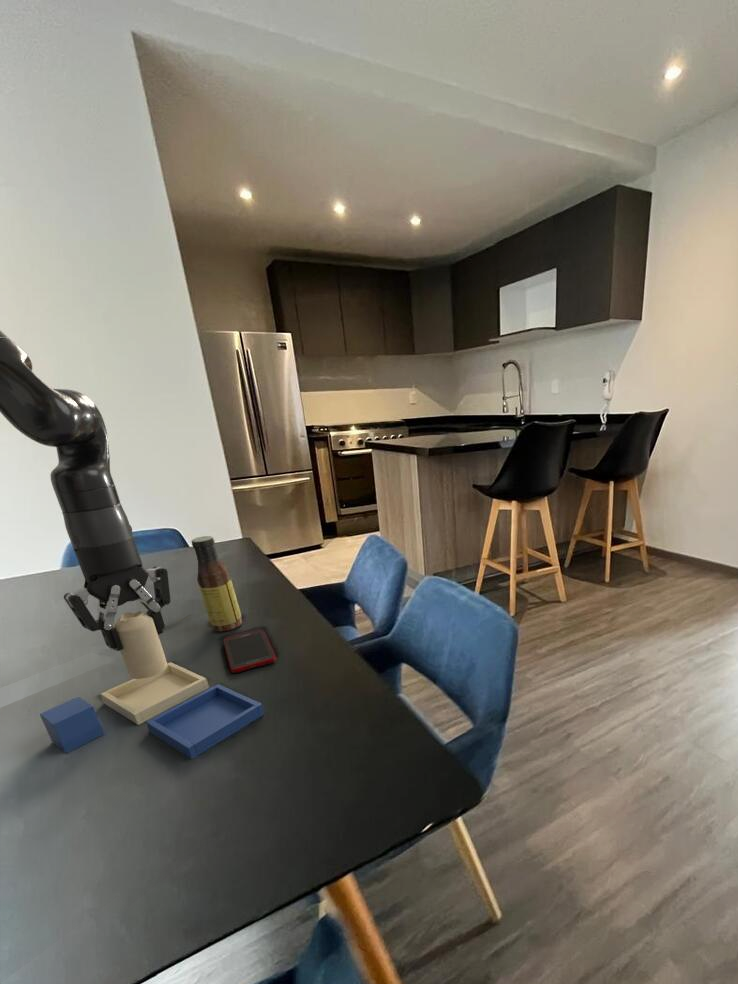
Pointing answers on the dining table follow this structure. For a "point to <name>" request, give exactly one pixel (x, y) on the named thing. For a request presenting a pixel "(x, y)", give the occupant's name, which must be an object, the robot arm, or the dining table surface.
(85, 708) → the blue block
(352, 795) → the dining table surface
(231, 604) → the sauce bottle
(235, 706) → the blue tray
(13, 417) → the robot arm
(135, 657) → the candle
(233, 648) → the cell phone
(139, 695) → the ivory tray
